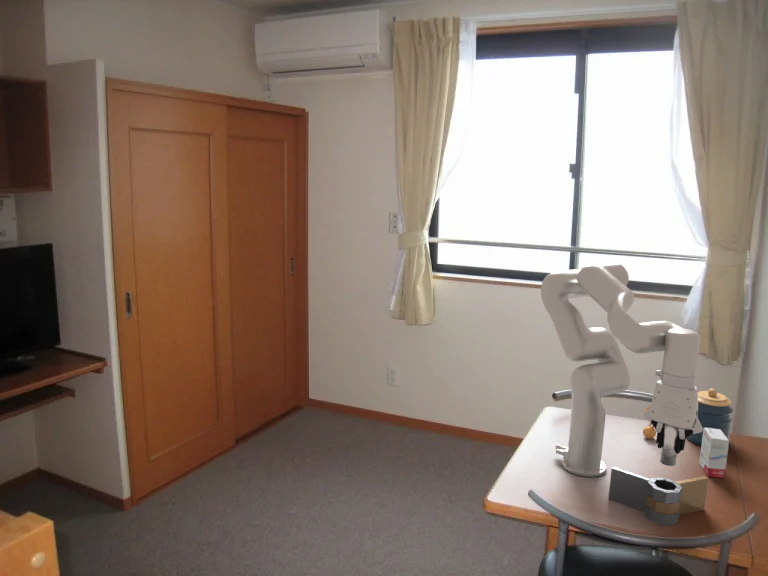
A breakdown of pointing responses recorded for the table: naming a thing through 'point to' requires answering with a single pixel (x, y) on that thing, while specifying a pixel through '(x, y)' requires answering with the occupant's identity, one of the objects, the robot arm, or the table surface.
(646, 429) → the figurine
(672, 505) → the bronze hinge leaf
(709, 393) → the canister
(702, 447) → the ink box
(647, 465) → the table surface
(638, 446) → the table surface
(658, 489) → the fixed hinge leaf
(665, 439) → the hinge pin
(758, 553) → the table surface
